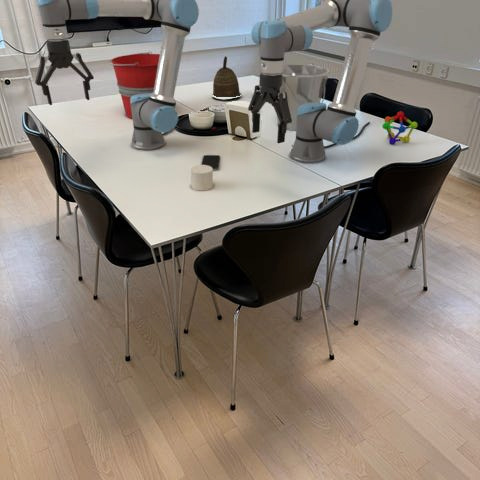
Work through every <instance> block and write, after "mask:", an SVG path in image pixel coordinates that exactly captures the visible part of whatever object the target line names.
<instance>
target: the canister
mask: <svg viewBox="0 0 480 480" xmlns="http://www.w3.org/2000/svg"><path fill="white" fill-rule="evenodd" d="M213 172H214V170H213V169H212V167H211V166H208V165H202V164H197V165H193V166H191V167H190V183H191V184H190V185H191V189H193V190H195V191H199V192H200V191H201V192H203V191H209V190H211V189H213V188H214V173H213Z"/></svg>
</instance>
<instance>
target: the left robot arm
mask: <svg viewBox="0 0 480 480" xmlns="http://www.w3.org/2000/svg"><path fill="white" fill-rule="evenodd" d="M36 1H37V6H38V10H39V14H40V19H41V23H42V30H43V34H44V38H45V40H46V42H45V44H46V49H47V52H48V55H47V56H43V55H39V65H38V68H37V73H36V76H35V80H34V84H35V85H36V86H40V87H41V91H42V94H43V95H44V97H46V98H47V103H48V105H49V106H53V102H52V97H51V93H50V88H49V85H47V84H48V82H49V81H50V79H51V77H52V76H53V74H54V72H55V71H56V69H59V70H61V69H68V68H71V69H72V70H73V71H75V72H76V74H78V75H79V76H80V77H81V78H82V79H83V80H82V85H83V86H82V87H83V93H84V97H85V99H86V100H87V101H90V100H91V99H90V94H89V91H91V83H90V81H91V80H94V78H95V77H94V75H93V73H92V72H91V70H90V69H89V68H88V66H87V65H86V63H85V62H84V60H83V58H82V55H81V53H79V52H76V53H72V51H71V45H70V40H68V38H69V35H68V29H67V22H66V21H69V20H90V19H96V18H97V17H124V18H125V17H127V18H128V17H131V18H132V17H134V18H135V17H137V18H138V17H139V18H143V19H144V20H149V21H150V20H153V21H158V22H160V27H161V29H162V31H163V35H162V38H161V39H162V40H161V45H160V51H159V54H160V57H159V62H158V68H157V74H156V80H155V86H154V91H153V93H144V94H137V95H133V96H132V97H131V98H130V102H131V103H130V105H131V111H132V118H133V119H132V125H133V132H132V135H131V147H132V148H134V149H135V150H141V151H151V150H153V151H154V150H157V149H161V148H163V147H164V146H165V144H166V140H165V137H164V136H165V135H167V134H169V133H171V132H173V130H174V129H175V127H176V126H177V125H178V123H179V122H180V121H182V120H183V119H186V118H187V117H189V116H188V114H186V115H184V116H181V117H180V118H181V119H180V118H179V114H178V111H177V109H176V106H177V101H176V99H175V92H176V87H177V81H178V76H179V72H180V71H179V70H180V65H181V60H182V55H183V50H184V45H185V39H186V37H187V36H188V35H190V33H191V28H192V27H193V26H194V25H195V24H196V23H197V22H198V20H199V15H200V9H199V5H198V3H197V1H196V0H36ZM74 59H75V60H76V61H78V63H79V65H80V66H81V68H82V70H83V71H84V72H85V73H86V74H84V73H83V71H81V69H79V68H78V67H77V66H76V65H74V63H73V60H74ZM48 61H49V62H50V65H49V67H48V70H47V71H46V72H45V75H44V76H43V74H44V71H45V66H46V64H47V63H48ZM205 108H206V109H205ZM205 108H203V110H202V109H200V111H201V112H204V111H206V110H208V109H207V108H208V107H205Z"/></svg>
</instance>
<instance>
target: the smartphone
mask: <svg viewBox="0 0 480 480" xmlns="http://www.w3.org/2000/svg"><path fill="white" fill-rule="evenodd" d="M220 160H221V155H219V154H211V155H210V154H204V155H203V157H202V162H201V165H208V166H211V167H212V169H213V171H218V170H219V168H220Z"/></svg>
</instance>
